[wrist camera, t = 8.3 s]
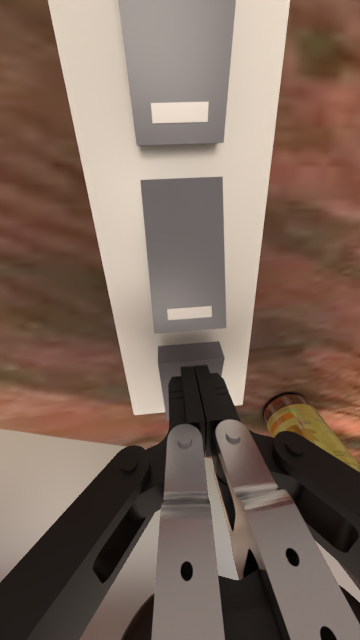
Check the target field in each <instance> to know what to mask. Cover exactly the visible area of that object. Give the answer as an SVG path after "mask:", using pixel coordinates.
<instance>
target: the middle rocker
mask: <svg viewBox="0 0 360 640" xmlns="http://www.w3.org/2000/svg"><path fill="white" fill-rule="evenodd" d="M140 182H141V193H142V204H143V215H144V226H145V237H146V248H147V259H148V270H149V281H150V292H151V303H152V314H153V325H154V334H157V333H170V332H183V331H196V330H208V329H221V328H226V292H225V252H224V212H223V176H222V177H198V178H175V179H151V180H140Z"/></svg>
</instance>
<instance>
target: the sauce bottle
mask: <svg viewBox="0 0 360 640" xmlns="http://www.w3.org/2000/svg"><path fill="white" fill-rule="evenodd" d="M264 419H265V422H266V424H267V429H268V431H269V433H270V435H271V437H273V438H275V436H276V434H277V433H279V432H281V431H292V432H295V433H297V434H299V435H301V436H303V437H304V438H306V439H307V440H309V441H311V442H312V443H314V444H315V445H317V446H319V447H320V448H322V449H323V450H325V451H327V452H328V453H330V454H331V455H333V456H335V457H336V458H338V459H339V460H341V461H343V462H344V463H346V464H347V465H349V466H350V467H352V468H354V469H355V470H357V471H358V472H360V465H359V464H358V463H357V462H356V460H355V459H354V458H353V456H352V455H351V454H350V453H349V451H348V450H347V449H346V448H345V446H344V445H343V444H342V442H341V441H340V440H339V439H338V437H337V436H336V435H335V434H334V432H333V431H332V430H331V428H330V427H329V426H328V425H327V423H326V422H325V421H324V420H323V418H322V417H321V416H320V415H319V413H318V412H317V411H316V409H314V408H313V407H312V406H310V404H309V402H308V401H307V400H306V399H305V398H304V397H302V396H300V395H296V394H286V395H282V396H280V397H278V398H276V399H274V400H273V401H272V402H270V403H269V404H268V406H266V408H265V410H264ZM340 565H341V566H342V567H343V569H344V570H345V571H346V573H347V574H348V575H349V577H350V578H351V579H352V580H353V582H354V583H355V584H356V586H357V587H358V588H359V589H360V581H359V580H358V579H357V578H356V577H355V576H354V575H352V574H351V573H350V572H349V571H348V570H347V569H346V568H345V567H344V566H343V565H342V564H340Z"/></svg>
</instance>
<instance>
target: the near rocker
mask: <svg viewBox="0 0 360 640" xmlns="http://www.w3.org/2000/svg"><path fill="white" fill-rule="evenodd" d="M118 2H119V10H120V18H121V26H122V34H123V42H124V50H125V58H126V66H127V74H128V81H129V89H130V97H131V105H132V113H133V121H134V129H135V137H136V145H137V146H154V145H183V144H213V143H224V132H225V121H226V109H227V97H228V86H229V74H230V63H231V51H232V40H233V28H234V17H235V5H236V0H118Z"/></svg>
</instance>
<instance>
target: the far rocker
mask: <svg viewBox="0 0 360 640" xmlns="http://www.w3.org/2000/svg"><path fill="white" fill-rule="evenodd" d="M224 359H225V357H224V354H223V351H222V348H221V345H220V342H219V341H215V342H203V343H190V344H178V345H165V346H158V368H159V374H160V381H161V387H162V393H163V400H164V406H165V412H166V418H167V420H169V395H168V383H169V381H170V379H171V377H175V376H181V369H180V367H182V366H194V365H205V364H207V365H208V368H209V372H210V373H218V374H219V375H220V376H222V370H223V365H224Z"/></svg>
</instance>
